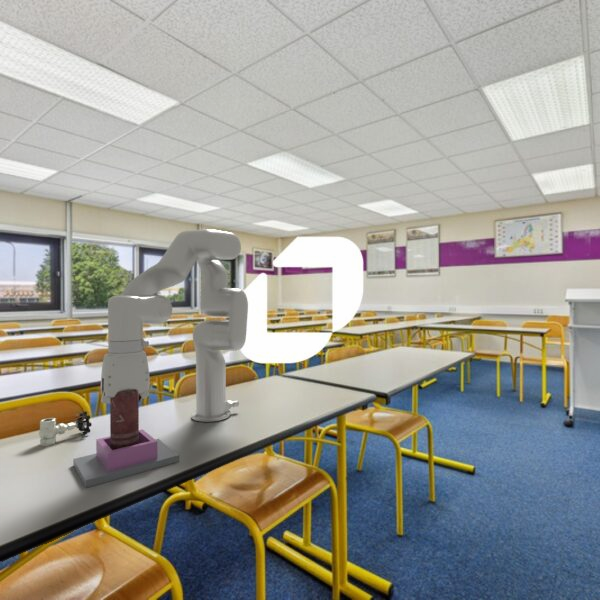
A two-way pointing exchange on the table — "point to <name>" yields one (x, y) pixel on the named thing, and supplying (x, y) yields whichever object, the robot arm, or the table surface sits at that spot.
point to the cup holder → (123, 460)
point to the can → (124, 419)
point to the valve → (61, 428)
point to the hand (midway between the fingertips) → (126, 424)
